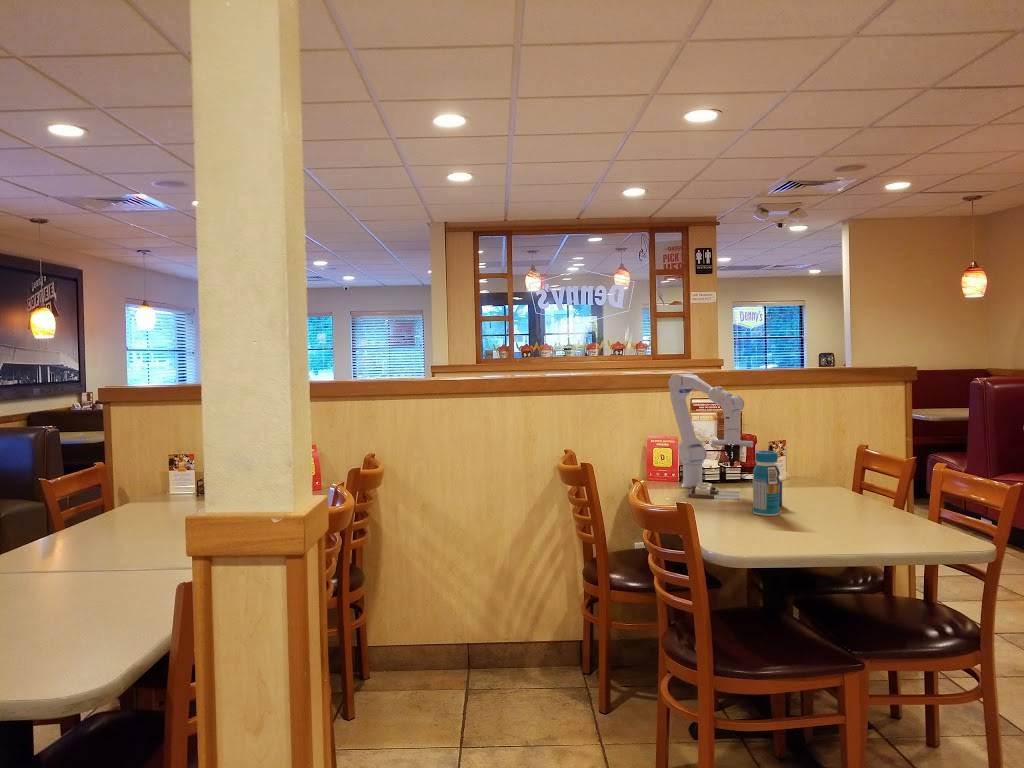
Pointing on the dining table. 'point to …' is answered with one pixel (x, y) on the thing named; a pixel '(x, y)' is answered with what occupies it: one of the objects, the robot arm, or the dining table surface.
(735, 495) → the rack
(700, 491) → the pot
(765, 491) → the beverage bottle
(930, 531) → the dining table surface
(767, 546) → the dining table surface
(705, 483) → the twin pot
